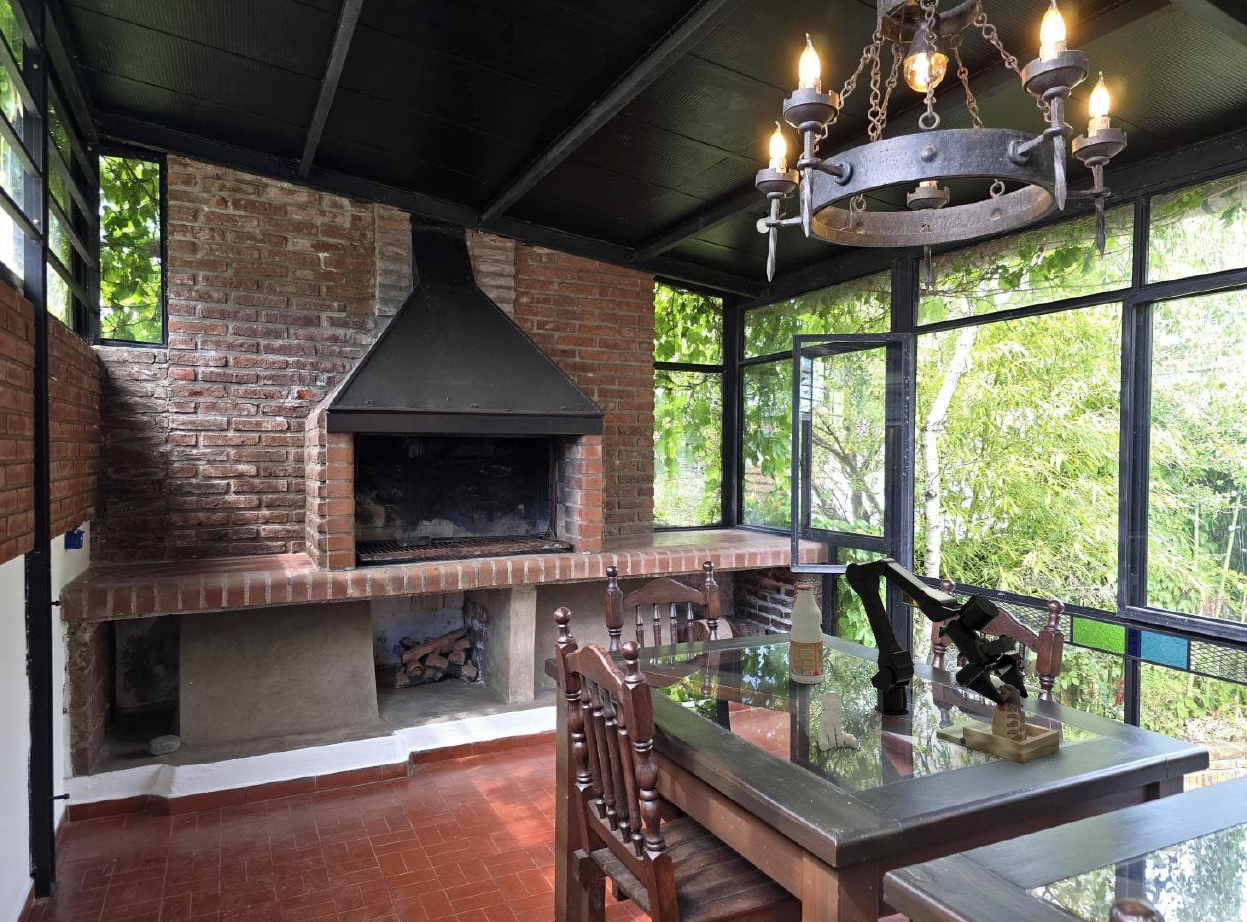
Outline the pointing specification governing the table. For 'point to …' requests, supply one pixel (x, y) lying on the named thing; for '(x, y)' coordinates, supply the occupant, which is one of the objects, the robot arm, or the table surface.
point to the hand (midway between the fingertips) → (1015, 701)
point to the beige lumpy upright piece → (833, 724)
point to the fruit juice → (806, 638)
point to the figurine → (1009, 715)
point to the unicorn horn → (998, 682)
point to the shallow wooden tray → (1003, 740)
